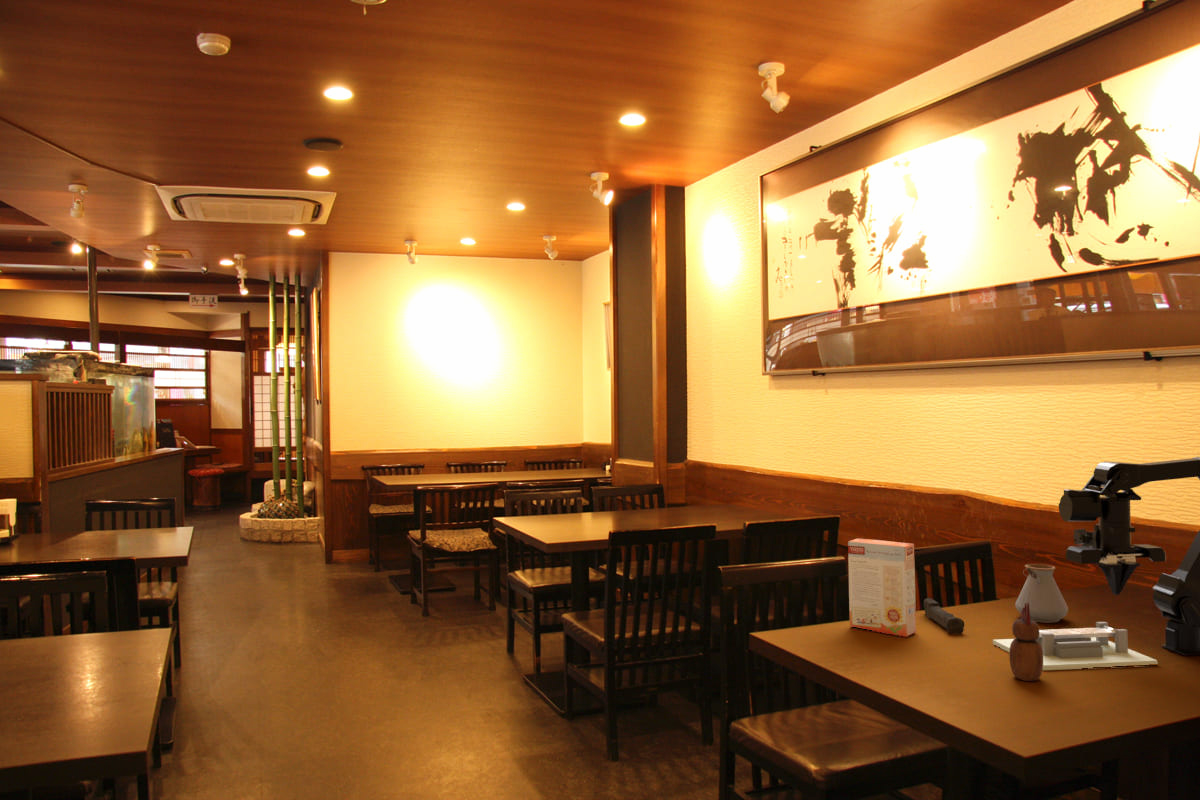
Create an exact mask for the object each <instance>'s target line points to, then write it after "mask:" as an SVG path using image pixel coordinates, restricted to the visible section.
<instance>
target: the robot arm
mask: <svg viewBox="0 0 1200 800" xmlns="http://www.w3.org/2000/svg"><path fill="white" fill-rule="evenodd" d="M1189 478H1197V479H1198V480H1199V481H1200V456H1195V457H1192V458H1184V459H1183V458H1182V459H1174V460H1173V459H1172V460H1166V461H1165V460H1163V461H1154V462H1143V463H1130V462H1120V461H1117V462H1116V461H1103V462H1099V463H1097V465H1096V467H1095V468H1094V470H1093V474H1092V476H1091V477H1090V478H1089V480H1088V481H1087V483H1086V484H1085V485H1084V486H1083V487H1082V489H1070V488H1066V489H1065V488H1064V489H1063V494H1062V496H1061V497H1060V500H1059V503H1058V511H1059V515H1060V517H1061V519H1062V520H1063V521H1064V522H1095V521H1097V519H1098V523H1095V524H1094V526H1093V531H1087V530H1086V529H1085V528H1078V529H1074V530H1073V542H1074V544H1075V545H1076V546H1074V545H1073V546H1072V545H1071V546H1068V548H1067V549H1066V551H1065V559H1066V560H1069V561H1071V562H1076V563H1078V564H1083V565H1090V564H1091V565H1092V564H1093V565H1094V564H1096V565H1098V567H1099V568H1100V569H1101V570H1102V572H1103V574H1104V576H1105V579H1106V581H1107V583H1108V585H1109V588H1110V590H1111V592H1112V595H1115V596H1120V595H1121V593H1122V591H1123V589H1124V588H1125V586H1126V585H1127V583H1128V581H1129V579H1130V577H1131V576H1132V575H1133V573H1134V572H1135V570H1136V569H1137V567H1141V565H1142V564H1141V563H1139V562H1137V558H1148V559H1149V560H1150V562H1153V563H1158V562H1166V561H1167V553H1166V551H1165V550H1164V549H1163V547H1160V546H1157V545H1152V544H1148V543H1147V544H1142V543H1141V544H1132V533H1136V527H1135V526H1131V525H1132V523H1131V518H1132V517H1131V501H1141V500H1142V497H1141V496H1140V495H1138V493H1136V492H1135V490H1134V488H1137V487H1140V486H1142V485H1144V484H1147V483H1152V482H1158V481H1160V482H1161V481H1167V480H1168V481H1169V480H1171V481H1172V480H1180V479H1189ZM1079 545H1080V546H1079ZM1158 577H1159V578H1158V581H1157V583H1156V584H1155V585H1154V586H1153V587H1152V590H1153V592H1152V593H1153V594H1152V599H1153V602H1154V604H1155V606H1156V607H1157V608H1158V609H1159V611H1160V613H1161V615H1162V617H1163V618H1167V620H1166V627H1165V644H1163V643H1162V644H1161V648H1164V649H1166V648H1167V650H1170V651H1172V652H1175V653H1177V654H1180V655H1183V656H1200V529H1199V530H1198V532H1197V534H1196V536H1195V537H1194V539H1193V541H1192V543H1191V544H1190V547H1188V550H1187V552H1186V554H1185V556H1184V557H1183V559H1182V560H1181V563H1180V564H1179V566H1178V568H1177V569H1176V570H1175V571H1174V572H1172V573H1171V574H1167V573H1164V572H1162V573H1161V574H1160V575H1159V576H1158Z"/></svg>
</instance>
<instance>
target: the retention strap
mask: <svg viewBox="0 0 1200 800" xmlns="http://www.w3.org/2000/svg"><path fill="white" fill-rule="evenodd" d="M1115 629H1116V628H1113V627H1110V626H1109V625H1108V626H1103V627H1102V628H1096V627H1082V628H1081V627H1078V628H1059V629H1058V628H1056V629H1053V628H1052V629H1039V637H1041V638H1042V633H1052V634H1054V639H1065V638H1090V637H1108V638H1109V637H1110V638H1111V637H1114V638H1115Z"/></svg>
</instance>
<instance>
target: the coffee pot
mask: <svg viewBox="0 0 1200 800" xmlns="http://www.w3.org/2000/svg"><path fill="white" fill-rule="evenodd" d="M1024 567H1025V569H1023V571H1022V574H1023V575H1024V576H1025V577H1026V580H1025V583H1024V584H1023V587H1022V589H1021V590H1020V593H1019V595H1018V597H1017V599H1016V601H1015V604H1014V607H1015V608H1016V610H1017V611H1018V613H1020V615H1021V611H1023V608H1024V607H1025V603H1026V605H1027V603H1029V609H1030V620H1032V621H1034V622H1036V623H1045V624H1047V623H1058V622H1060V621H1061V619H1063V618H1065V617H1066V616H1067V614H1068V612H1069V607H1068V605H1067V603H1066V601H1065V599H1064V597H1063V595H1062V592H1061V590H1060V588H1059V586H1058V584H1057V582H1056V580H1055V578H1054V576H1053V574H1054V571H1055V570H1056V567H1055V566H1053V565H1049V564H1041V563H1031V564H1029V563H1028V564H1025V565H1024ZM1024 571H1027V573H1028V575H1026V574H1025V573H1024Z"/></svg>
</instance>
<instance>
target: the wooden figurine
mask: <svg viewBox="0 0 1200 800" xmlns="http://www.w3.org/2000/svg"><path fill="white" fill-rule="evenodd" d="M1011 630H1012V635H1013V636H1014V638H1013V639H1014V640H1013V641H1012V642H1011V645H1010V651H1009V652H1008V653H1009V654H1008V656H1009V658H1008V659H1009V666H1010V669H1011V672H1012V675H1013V676H1014V677H1015V678H1017V679H1018V680H1021V681H1024V682H1025V681H1026V682H1034V681H1035V682H1036V681H1037V680H1039V679H1040V678H1041V676H1042V673H1043V670H1042V669H1043V650H1042V647H1041V645H1040V643H1039V642H1038V641H1037V640H1036V639H1037V638H1038V637H1039V630H1040V628H1039V625H1038V622H1036V621H1032V620H1030V609H1029V603H1027V605H1026V603H1025V607H1024V608H1023V611H1021V614H1020V618H1017V619H1015V620H1013V622H1012V628H1011Z"/></svg>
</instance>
